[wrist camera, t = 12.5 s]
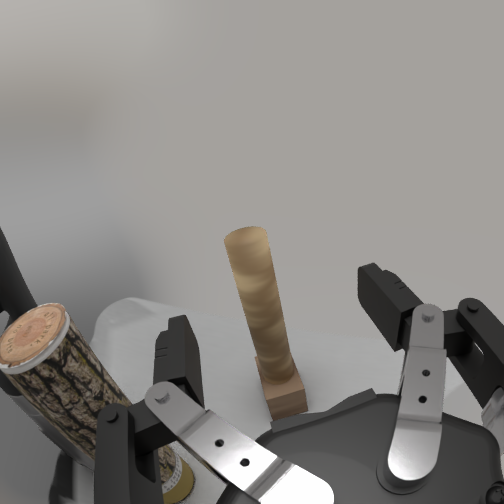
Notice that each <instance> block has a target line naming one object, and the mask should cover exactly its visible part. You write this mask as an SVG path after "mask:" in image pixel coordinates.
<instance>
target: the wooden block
mask: <svg viewBox="0 0 504 504" xmlns="http://www.w3.org/2000/svg"><path fill="white" fill-rule="evenodd" d="M291 359H292V364H293V369H294V373H293V376H292V378H291V379H290V380H289V381H287V382H286V383H283V384H279V385H274V384H270V383H268V382H267V381H266V380H265V379H264V376H263V373H262V370H261V366H260V363H259V360H258V357H257V356H256V357H255V360H256V364H257V368H258V372H259V375H260V379H261V383H262V387H263V390H264V394H265V398H266V401H267V404H268V407H269V410H270V413H271V416H272V419H273V421H275V420H278V419H282V418H285V417H289V416H292V415H296V414H299V413H302V412H305V411H308V408H307V402H306V395H305V389H304V386H303V384H302V381H301V379H300V376H299V373H298V371H297V368H296V366H295V363H294V360H293V358H292V355H291Z"/></svg>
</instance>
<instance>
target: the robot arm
mask: <svg viewBox="0 0 504 504" xmlns="http://www.w3.org/2000/svg"><path fill="white" fill-rule="evenodd" d="M358 299H359V302H360V304H361V306H362V307H363V308H364V310H365V311H366V313H367V314H368V315H369V317H370V318H371V320H372V321H373V322H374V324H375V325H376V326H377V328H378V329H379V331H380V332H381V333H382V335H383V336H384V338H385V339H386V340H387V342H388V343H389V345H390V346H391V347H392V349H393V350H394V352H396V351H398V350H400V349H402V348H403V349H404V351H405V355H404V361H403V367H402V372H401V378H400V383H399V388H398V392H397V395H395V394H375V392H374V391H373V389H372V388H371V389H368V390H366V391H363V392H361V393H358V394H356V395H353V396H350V397H348V398H346V399H345V400H343V401H342V402H340V403H339V404H337V405H336V406H334V407H332V408H331V409H329V410H327V411H325V412H320V413H310V414H298V415H293V416H290V417H286V418H283V419H279V420H276V421H272V422H270V424H271V427H272V429H270V430H269V431H267V432H265V433H264V434H262V435H261V436H260V437H258V438H257V439H256V440H255V441H253V440H252V439H250V438H249V437H247V436H246V435H244V434H243V433H242V432H240V431H239V430H237V429H236V428H235V427H233V426H232V425H230V424H229V423H228V422H226V421H225V420H224V419H222V418H221V417H220V416H218V415H217V414H216V413H214V412H213V411H211V410H207V411H206V410H205V407H204V397H203V387H202V376H201V365H200V353H199V347H198V343H197V340H196V337H195V335H194V333H193V330H192V328H191V326H190V323H189V321H188V319H187V317H186V315H181V316H177V317H172V318H169V322H168V330H167V331H162V332H160V334H159V336H158V338H157V340H156V345H155V359H154V376H153V386H151V387H150V388H149V389H148V391H147V392H146V395H145V399H143V400H142V401H140V402H138V403H136V404H134V405H132V406H129V407H127V408H126V407H125V406H124V405H122V404H120V403H111V404H108V405H107V406H105V407H104V408H103V409H102V410H101V411H100V413H99V415H98V418H97V429H96V444H95V461H93V460H92V459H91V458H90V457H88V456H87V455H86V454H85V453H83V452H82V451H81V450H80V449H78V448H77V447H76V446H75V445H74V444H72V443H71V442H70V441H69V440H68V439H67V438H66V437H64V436H63V435H62V434H61V433H60V432H59V431H58V430H57V429H56V428H54V427H53V426H52V425H51V424H50V423H49V422H48V421H47V420H46V419H45V418H44V417H43V416H42V415H41V414H40V413H39V412H38V411H37V410H36V409H35V408H34V407H33V406H32V405H31V404H30V403H29V402H28V401H27V400H26V399H25V397H24V396H23V395H22V394H21V393H20V392H19V391H18V390H17V389H16V388H15V386H14V385H13V384H12V383H11V382H10V381H9V379H8V378H7V377H6V376H5V375H4V373H3V372H2V371H1V370H0V387H1V388H2V389H3V391H5V393H6V394H7V395H8V396H9V397H10V398H11V399H12V400H13V401H14V402H15V403H16V404H17V405H18V406H19V407H20V408H21V409H22V410H23V411H24V412H25V413H26V414H27V415H28V416H29V417H30V418H31V419H32V420H33V421H34V422H35V423H36V424H37V425H38V426H39V430H40V431H41V432H42V433H43V434H44V435H45V436H46V437H47V438H49V439H50V440H51V441H52V442H53V443H54V444H56V445H57V446H58V447H59V448H60V449H62V450H63V451H64V452H65V453H67V454H68V455H69V456H70V457H72V458H73V459H74V460H76V461H77V462H78V463H80V464H81V465H86V466H87V467H88V468H90V469H91V470H93V471H94V504H164V499H163V491H162V483H161V474H160V464H159V454H158V448H161V447H163V446H165V445H167V444H170V443H172V442H174V441H177V442H178V443H180V444H181V445H182V446H183V447H184V448H185V449H186V450H187V451H188V452H189V453H190V454H191V455H192V456H194V457H195V458H196V459H197V460H198V461H199V462H200V463H201V464H203V465H204V466H205V467H206V468H207V469H208V470H209V471H210V472H211V473H212V474H214V475H215V476H216V477H217V478H218V479H219V480H221V481H222V482H223V483H224V484H226V485H227V486H226V488H225V490H224V491H223V493H222V495H221V496H220V498H219V500H218V501H217V503H216V504H504V479H503V475H502V470H501V461H500V456H501V455H502V454H504V325H503V324H502V323H501V322H500V321H499V320H498V319H497V318H496V317H495V315H493V313H492V312H491V311H490V310H489V309H488V308H487V307H486V306H485V305H484V304H483V303H482V302H481V301H479V300H477V299H474V298H466V299H463V300H462V301H460V303H459V305H458V309H454V310H448V311H442V310H441V309H440V308H439V307H437V306H435V305H432V304H424V303H423V302H422V301H421V300H420V299H419V298H418V297H417V296H416V295H415V294H414V293H413V292H412V291H411V290H410V289H409V288H408V287H407V286H406V285H405V284H404V283H403V282H402V281H401V279H400V278H399V277H398V276H397V275H396V274H394V273H392V272H390V271H388V270H384V271H382V270H381V269H380V268H379V267H378V266H377V265H376V264H375V263H371V264H368V265H364V266H362V267H359V268H358ZM36 307H38V306H37V304H36V302H35V300H34V299H33V297H32V295H31V293H30V291H29V289H28V287H27V285H26V283H25V281H24V279H23V277H22V275H21V273H20V270H19V268H18V266H17V263H16V261H15V259H14V256H13V254H12V252H11V249H10V247H9V245H8V242H7V241H6V238H5V236H4V234H3V232H2V230H1V228H0V313H1V312H2V311H7V312H8V313H9V315H10V316H9V320H8V323H7V326H6V328H5V330H6V329H7V328H8V327H9V326H10V325H11V324H12V323H13V322H14V321H15V320H17V319H18V318H19V317H20V316H22V315H23V314H25V313H26V312H28V311H30V310H31V309H33V308H36ZM5 330H4V332H5ZM4 332H3V333H4ZM1 336H2V335H1ZM475 343H476V344H477V345H478V347H479V348H480V349H481V350H482V352H483V354H484V355H483V354H482V352H481V351H480V350H479V349H478V347H477V346H476V345H475ZM446 357H448V358H449V359H450V361H451V362H452V364H453V365H454V366H455V368H456V369H457V371H458V372H459V374H460V375H461V377H462V378H463V380H464V381H465V383H466V384H467V386H468V387H469V389H470V390H471V392H472V393H473V395H474V396H475V398H476V399H477V401H478V402H479V404H480V406H481V407H482V409H483V411H482V415H481V417H482V422H483V426H480V425H477V424H474V423H471V422H469V421H466V420H463V419H460V418H457V417H454V416H452V415H449V414H446V413H444V412H442V409H443V399H444V388H445V374H446Z"/></svg>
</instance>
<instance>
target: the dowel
mask: <svg viewBox="0 0 504 504" xmlns="http://www.w3.org/2000/svg"><path fill="white" fill-rule="evenodd" d="M224 243H225V247H226V250H227V254H228V257H229V261H230V264H231V268H232V272H233V275H234V278H235V282H236V285H237V289H238V292H239V296H240V299H241V303H242V306H243V310H244V313H245V316H246V320H247V323H248V327H249V330H250V333H251V337H252V340H253V343H254V347H255V350H256V353H257V357H258V360H259V363H260V366H261V370H262V373H263V376H264V379H265V380H266V381H267V382H268V383H270V384H274V385H279V384H283V383H286V382H287V381H289V380H290V379H291V378H292V376H293V373H294V369H293V364H292V359H291V353H290V348H289V343H288V338H287V333H286V327H285V323H284V317H283V312H282V307H281V302H280V297H279V292H278V287H277V283H276V277H275V273H274V268H273V263H272V257H271V253H270V248H269V243H268V238H267V233H266V230H265V229H263V228H261V227H245V228H241V229H238V230H235V231H233V232H231V233H230V234H228V235H227V236H226V238H225V239H224Z"/></svg>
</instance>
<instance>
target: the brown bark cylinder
mask: <svg viewBox="0 0 504 504" xmlns="http://www.w3.org/2000/svg"><path fill="white" fill-rule="evenodd" d="M0 370H1V371H2V372H3V373H4V375H5V376H6V377H7V378H8V379H9V381H10V382H11V383H12V384H13V385H14V386H15V388H16V389H17V390H18V391H19V392H20V393H21V394H22V395H23V396H24V397H25V399H26V400H27V401H28V402H29V403H30V404H31V405H32V406H33V407H34V408H35V409H36V410H37V411H38V412H39V413H40V414H41V415H42V416H43V417H44V418H45V419H46V420H47V421H48V422H49V423H50V424H51V425H52V426H53V427H54V428H56V429H57V430H58V431H59V432H60V433H61V434H62V435H63V436H64V437H66V438H67V439H68V440H69V441H70V442H71V443H72V444H74V445H75V446H76V447H77V448H78V449H80V450H81V451H82V452H83V453H85V454H86V455H87V456H88V457H90V458H91V459H92V460H93V461H95V444H96V429H97V418H98V415H99V413H100V411H101V410H102V409H103V408H104V407H105V406H107V405H108V404H111V403H120V404H122V405H124V406H125V407H126V408H127V407H129V406H132V405H133V404H132V403H131V402H130V401H129V399H128V398H127V397H126V396H125V394H124V393H123V392H122V391H121V389H120V388H119V387H118V385H117V384H116V383H115V382H114V380H113V379H112V378H111V376H110V375H109V374H108V372H107V371H106V369H105V368H104V367H103V365H102V364H101V363H100V361H99V360H98V358H97V357H96V355H95V354H94V353H93V351H92V350H91V348H90V347H89V345H88V344H87V342H86V341H85V339H84V338H83V336H82V335H81V333H80V331H79V330H78V329H77V327H76V325H75V324H74V322H73V320H72V319H71V317H70V315H69V314H68V312H67V311H66V310H65V308H64V307H63V306H62V305H61V304H58V303H48V304H44V305H41V306H38V307H36V308H33V309H31V310H30V311H28V312H26V313H25V314H23V315H22V316H20V317H19V318H18V319H17V320H15V321H14V322H13V323H12V324H11V325H10V326H9V327H8V328H7V329H6V330H5V332H4V333H3V334H2V336H1V337H0ZM158 454H159V464H160V474H161V483H162V491H163V499H164V504H172V503H176V502H179V501H181V500H182V499H184V498H185V497H186V496H187V495H188V494H189V492H190V491H191V489H192V486H193V482H194V477H193V472H192V470H191V468H190V467H189V465H188V464H187V463H186V462H185V461H184V460H183V459H182V458H181V457H180V456H179V455H178V454H177V453H176V452H175V451H174V450H173V449H172V448H171V447H170V446H169V445H168V444H167V445H165V446H163V447H161V448H158Z"/></svg>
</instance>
